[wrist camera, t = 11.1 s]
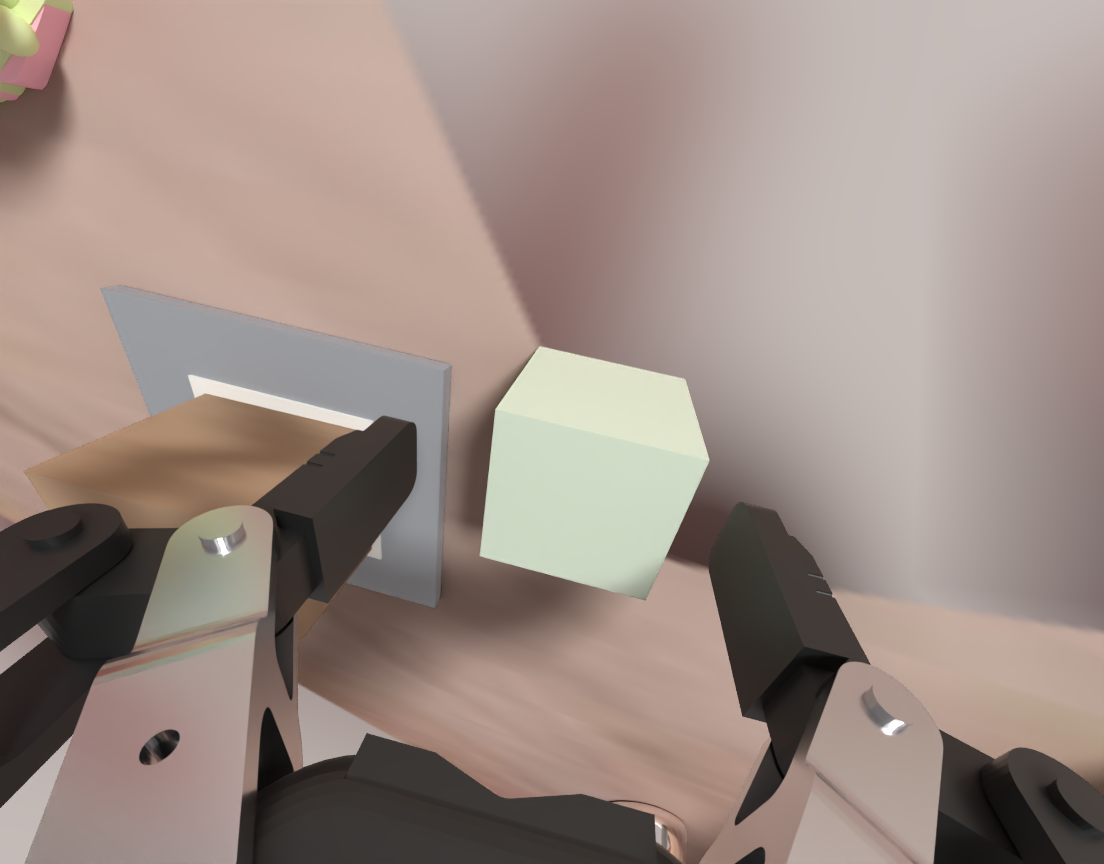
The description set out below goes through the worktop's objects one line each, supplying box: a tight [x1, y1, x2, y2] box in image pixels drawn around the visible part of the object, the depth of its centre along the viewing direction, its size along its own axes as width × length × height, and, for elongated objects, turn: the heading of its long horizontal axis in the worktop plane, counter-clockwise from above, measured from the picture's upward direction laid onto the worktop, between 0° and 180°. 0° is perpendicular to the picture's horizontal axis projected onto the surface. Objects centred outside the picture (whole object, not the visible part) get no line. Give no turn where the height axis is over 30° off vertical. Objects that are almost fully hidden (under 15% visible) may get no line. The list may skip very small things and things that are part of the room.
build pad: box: [100, 285, 451, 608], centre depth 16 cm, size 12×12×1 cm
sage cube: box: [480, 346, 709, 600], centre depth 11 cm, size 4×4×4 cm
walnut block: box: [24, 393, 372, 644], centre depth 14 cm, size 6×6×5 cm
